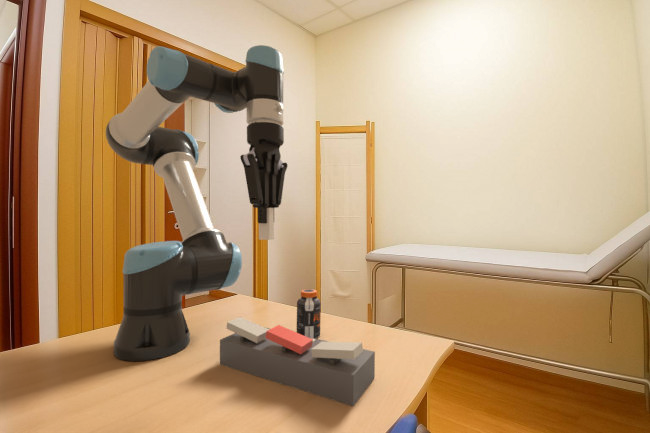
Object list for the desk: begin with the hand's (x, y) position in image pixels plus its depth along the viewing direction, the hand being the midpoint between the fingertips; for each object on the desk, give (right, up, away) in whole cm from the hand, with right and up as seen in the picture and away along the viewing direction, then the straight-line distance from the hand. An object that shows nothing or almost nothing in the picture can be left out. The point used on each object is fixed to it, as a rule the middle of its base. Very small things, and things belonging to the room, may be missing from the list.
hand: (266, 239), depth 67 cm
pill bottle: (+8, -25, +14) cm, 30 cm away
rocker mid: (+5, -18, -6) cm, 20 cm away
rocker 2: (+14, -18, -11) cm, 26 cm away
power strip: (+6, -25, -5) cm, 26 cm away
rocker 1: (-3, -18, -2) cm, 19 cm away
